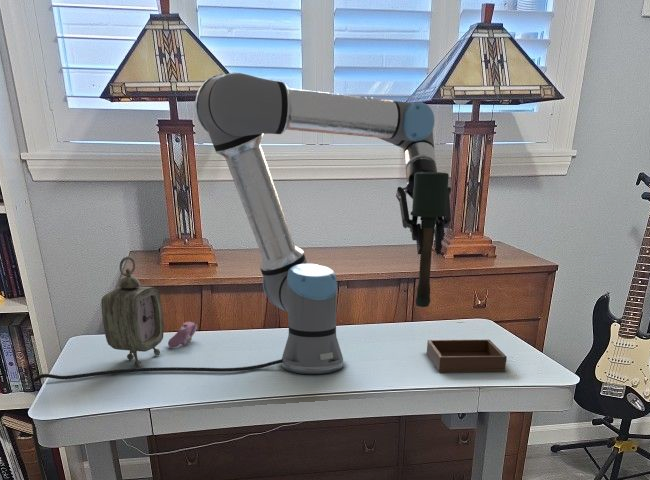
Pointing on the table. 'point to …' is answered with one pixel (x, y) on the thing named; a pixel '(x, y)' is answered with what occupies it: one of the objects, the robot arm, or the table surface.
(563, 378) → the table surface
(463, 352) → the holder
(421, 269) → the potato masher grenade
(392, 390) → the table surface
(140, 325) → the tabletop clock
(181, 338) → the pink toy shoe
